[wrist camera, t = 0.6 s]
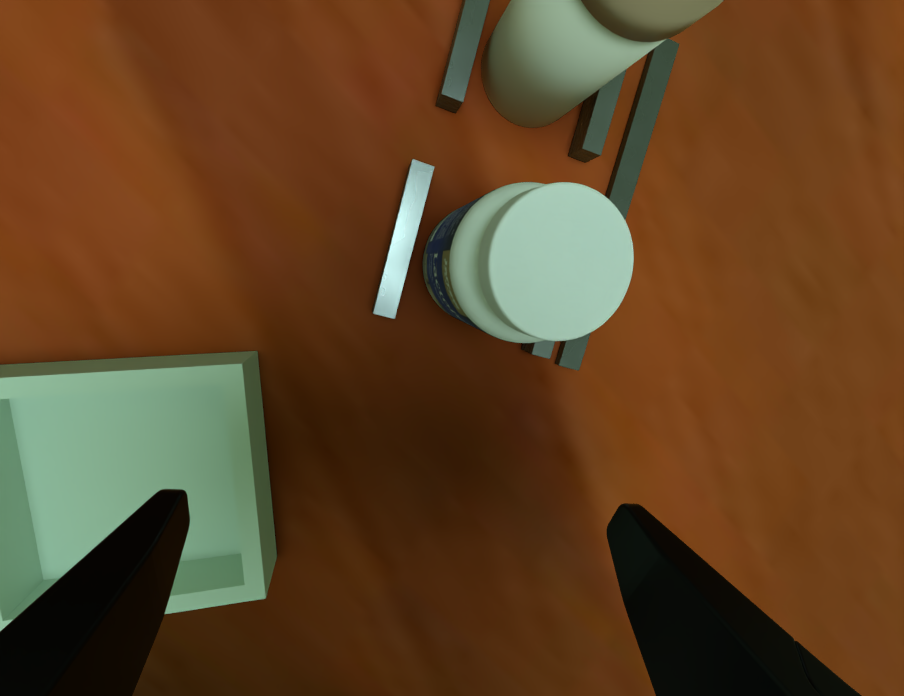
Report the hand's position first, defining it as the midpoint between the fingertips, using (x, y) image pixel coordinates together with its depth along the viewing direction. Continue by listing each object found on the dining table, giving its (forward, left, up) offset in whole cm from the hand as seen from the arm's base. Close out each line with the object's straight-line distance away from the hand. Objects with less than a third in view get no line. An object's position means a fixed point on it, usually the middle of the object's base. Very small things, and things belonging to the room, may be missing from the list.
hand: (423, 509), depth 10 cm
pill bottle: (+5, -5, -14) cm, 16 cm away
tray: (-4, +11, -14) cm, 18 cm away
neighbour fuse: (+14, -8, -14) cm, 21 cm away
